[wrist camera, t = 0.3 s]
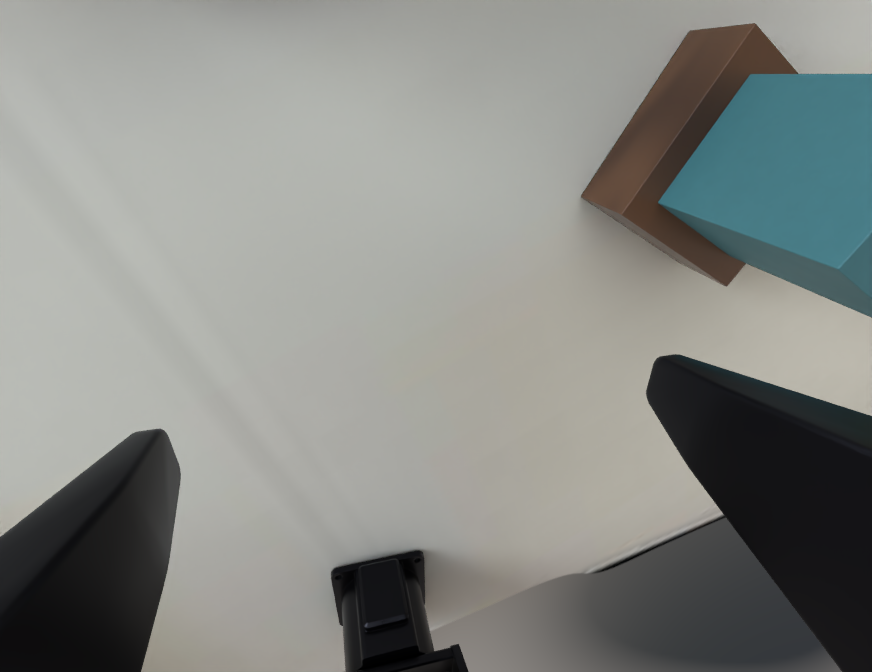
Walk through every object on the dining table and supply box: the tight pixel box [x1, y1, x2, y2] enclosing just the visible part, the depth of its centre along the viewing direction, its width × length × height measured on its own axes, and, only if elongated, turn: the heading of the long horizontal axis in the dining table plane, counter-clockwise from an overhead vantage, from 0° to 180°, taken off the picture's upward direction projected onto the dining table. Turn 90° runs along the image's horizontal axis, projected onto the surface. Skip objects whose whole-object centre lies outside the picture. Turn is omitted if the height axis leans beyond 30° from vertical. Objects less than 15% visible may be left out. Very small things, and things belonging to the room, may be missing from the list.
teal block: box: [658, 74, 872, 317], centre depth 17 cm, size 6×6×8 cm
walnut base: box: [581, 23, 798, 286], centre depth 21 cm, size 8×8×4 cm
